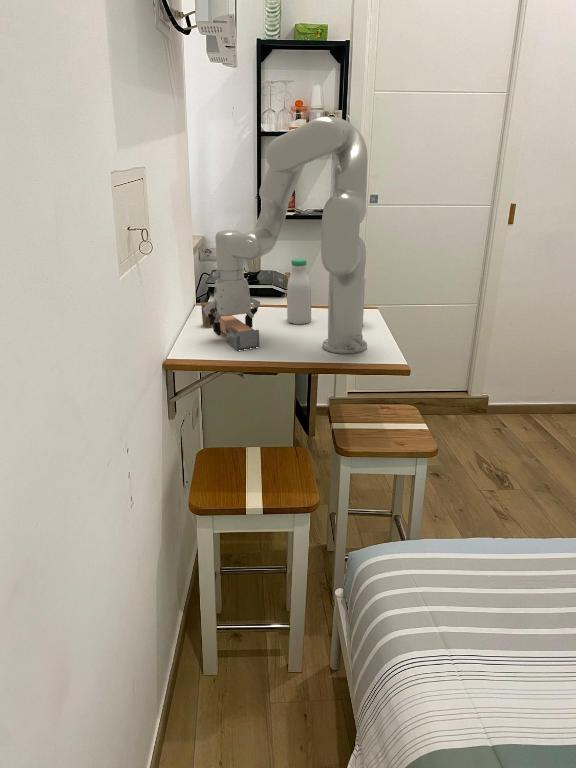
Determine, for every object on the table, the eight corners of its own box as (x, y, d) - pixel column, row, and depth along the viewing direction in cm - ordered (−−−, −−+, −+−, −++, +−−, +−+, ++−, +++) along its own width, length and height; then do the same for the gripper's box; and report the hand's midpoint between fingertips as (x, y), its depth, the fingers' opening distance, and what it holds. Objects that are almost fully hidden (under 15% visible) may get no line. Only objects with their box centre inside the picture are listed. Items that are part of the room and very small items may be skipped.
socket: (230, 324, 194) (229, 302, 191) (206, 328, 191) (205, 305, 188) (226, 321, 197) (225, 299, 195) (202, 324, 194) (201, 302, 191)
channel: (259, 347, 172) (259, 330, 170) (237, 351, 170) (236, 333, 168) (247, 339, 180) (247, 322, 178) (226, 342, 177) (225, 325, 175)
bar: (253, 343, 172) (253, 329, 171) (240, 345, 171) (239, 331, 169) (229, 325, 189) (228, 312, 188) (216, 327, 188) (216, 314, 186)
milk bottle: (311, 324, 193) (311, 261, 185) (287, 325, 193) (286, 261, 185) (311, 318, 200) (311, 257, 192) (287, 318, 200) (286, 257, 192)
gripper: (205, 280, 167) (209, 339, 174) (263, 274, 174) (265, 331, 181) (197, 275, 174) (201, 332, 180) (253, 269, 180) (255, 325, 187)
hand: (233, 332), depth 180 cm, fingers open, 9 cm apart
